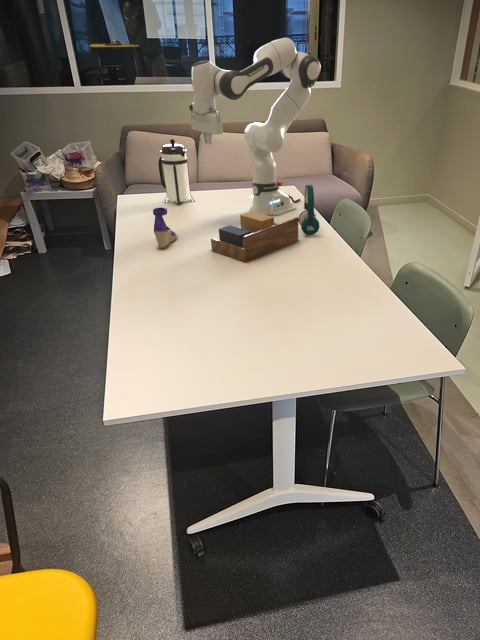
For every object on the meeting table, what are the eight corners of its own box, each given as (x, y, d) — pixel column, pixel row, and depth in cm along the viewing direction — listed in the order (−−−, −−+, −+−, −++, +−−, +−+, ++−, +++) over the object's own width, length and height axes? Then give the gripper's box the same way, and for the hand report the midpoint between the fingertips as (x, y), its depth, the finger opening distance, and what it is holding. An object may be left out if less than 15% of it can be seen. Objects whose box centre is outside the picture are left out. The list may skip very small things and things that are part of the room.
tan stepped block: (239, 237, 219) (237, 214, 213) (252, 233, 223) (251, 210, 218) (272, 248, 208) (272, 224, 202) (285, 243, 213) (285, 219, 207)
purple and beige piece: (181, 234, 222) (176, 199, 214) (167, 250, 206) (162, 213, 198) (163, 233, 223) (158, 198, 214) (148, 249, 207) (142, 212, 198)
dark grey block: (218, 246, 209) (216, 228, 205) (230, 242, 214) (229, 224, 209) (252, 258, 199) (251, 239, 195) (264, 253, 203) (263, 234, 199)
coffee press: (195, 196, 273) (189, 136, 255) (192, 205, 260) (185, 141, 242) (163, 197, 272) (154, 136, 255) (158, 205, 259) (149, 141, 242)
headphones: (315, 226, 232) (316, 180, 220) (319, 237, 220) (321, 189, 208) (297, 226, 231) (298, 181, 220) (301, 237, 219) (301, 189, 208)
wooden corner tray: (211, 250, 206) (209, 226, 200) (264, 231, 226) (264, 208, 220) (245, 262, 195) (244, 236, 190) (298, 241, 215) (298, 217, 210)
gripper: (225, 108, 203) (227, 146, 211) (198, 104, 216) (202, 139, 224) (212, 110, 200) (215, 148, 208) (186, 105, 213) (189, 141, 221)
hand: (208, 143), depth 216 cm, fingers closed
